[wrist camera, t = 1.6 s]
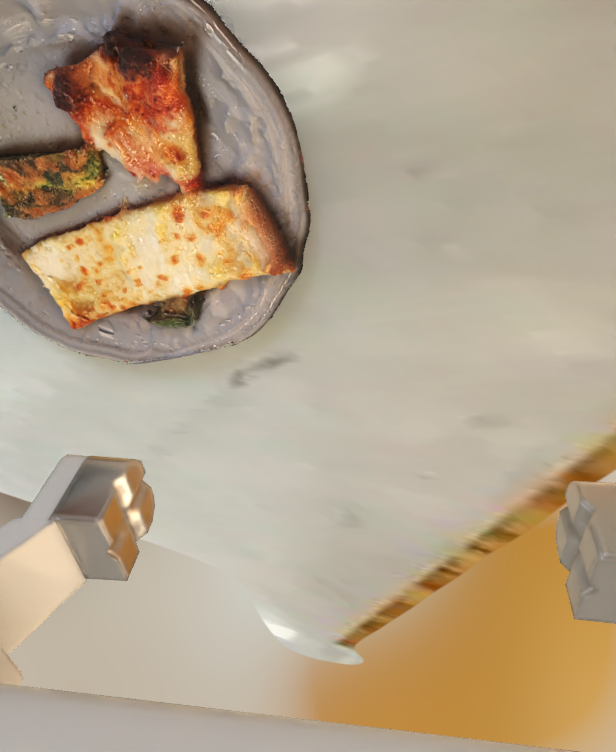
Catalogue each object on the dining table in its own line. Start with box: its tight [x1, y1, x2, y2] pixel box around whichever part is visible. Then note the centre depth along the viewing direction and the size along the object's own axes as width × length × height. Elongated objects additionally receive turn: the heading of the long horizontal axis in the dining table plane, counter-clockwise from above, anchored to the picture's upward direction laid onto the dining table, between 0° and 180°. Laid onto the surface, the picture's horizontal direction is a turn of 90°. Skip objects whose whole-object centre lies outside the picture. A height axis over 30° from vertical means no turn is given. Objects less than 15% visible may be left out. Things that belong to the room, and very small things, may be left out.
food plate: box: [0, 0, 311, 364], centre depth 35 cm, size 25×23×4 cm
